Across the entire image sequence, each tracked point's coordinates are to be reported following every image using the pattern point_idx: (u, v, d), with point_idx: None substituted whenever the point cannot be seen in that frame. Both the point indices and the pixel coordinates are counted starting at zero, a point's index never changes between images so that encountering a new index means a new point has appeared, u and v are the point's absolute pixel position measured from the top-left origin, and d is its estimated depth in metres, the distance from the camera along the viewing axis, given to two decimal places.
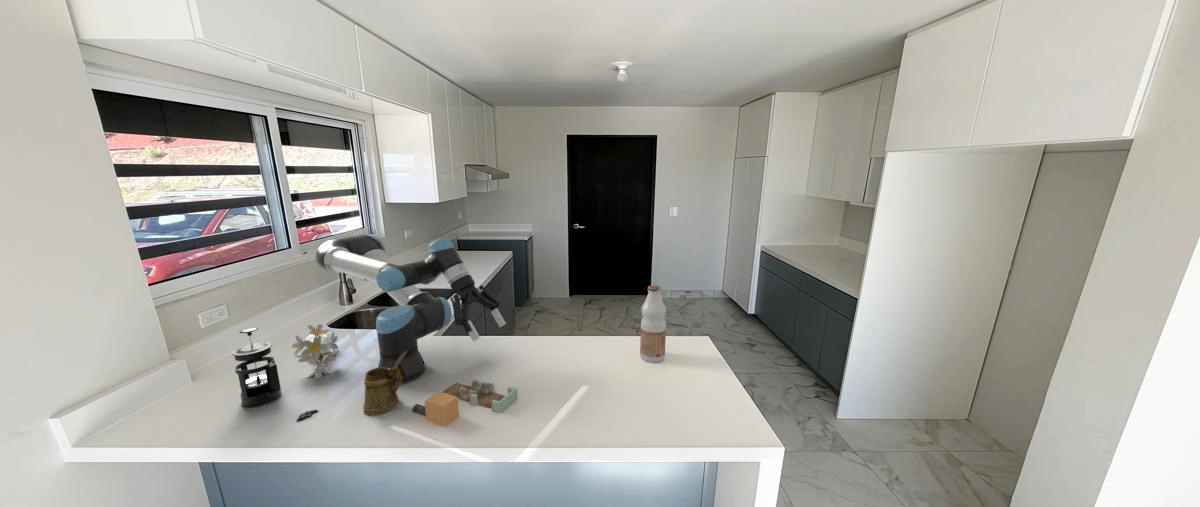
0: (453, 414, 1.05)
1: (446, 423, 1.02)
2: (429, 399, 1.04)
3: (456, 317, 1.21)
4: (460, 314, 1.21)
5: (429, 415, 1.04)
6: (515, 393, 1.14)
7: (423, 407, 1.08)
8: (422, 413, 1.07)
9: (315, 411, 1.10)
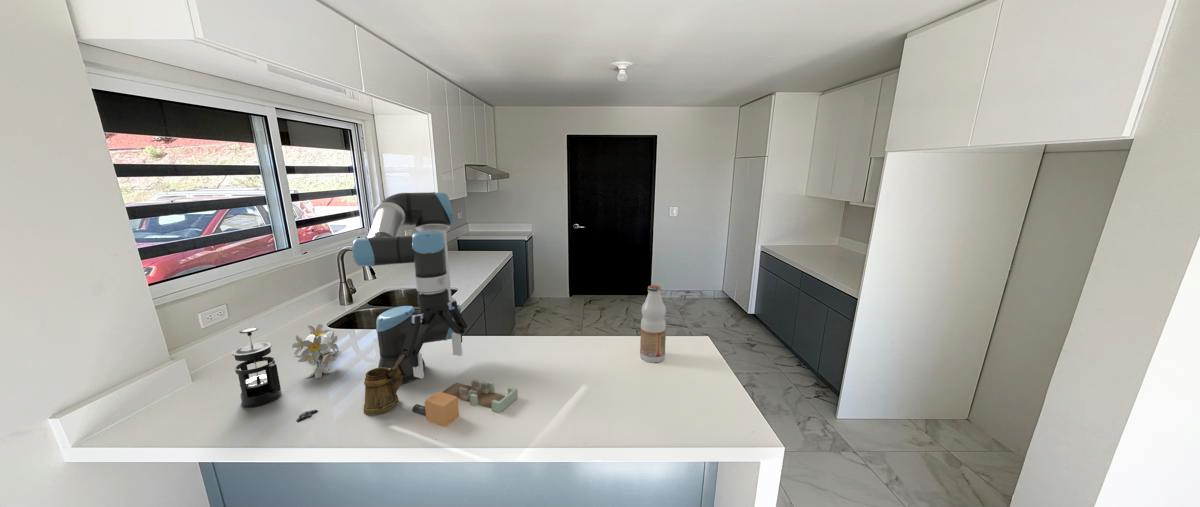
0: (453, 414, 1.05)
1: (446, 423, 1.02)
2: (429, 399, 1.04)
3: (406, 346, 0.93)
4: (412, 345, 0.93)
5: (429, 415, 1.04)
6: (515, 393, 1.14)
7: (423, 407, 1.08)
8: (422, 413, 1.07)
9: (315, 411, 1.10)
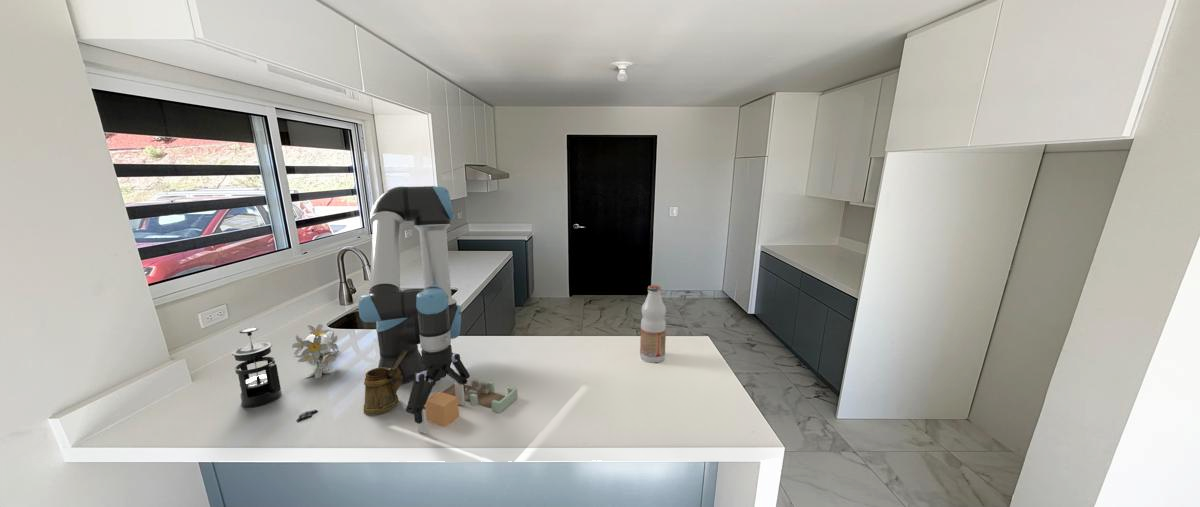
0: (453, 414, 1.05)
1: (446, 423, 1.02)
2: (429, 399, 1.04)
3: (410, 405, 0.95)
4: (417, 403, 0.96)
5: (429, 415, 1.04)
6: (515, 393, 1.14)
7: None
8: None
9: (315, 411, 1.10)
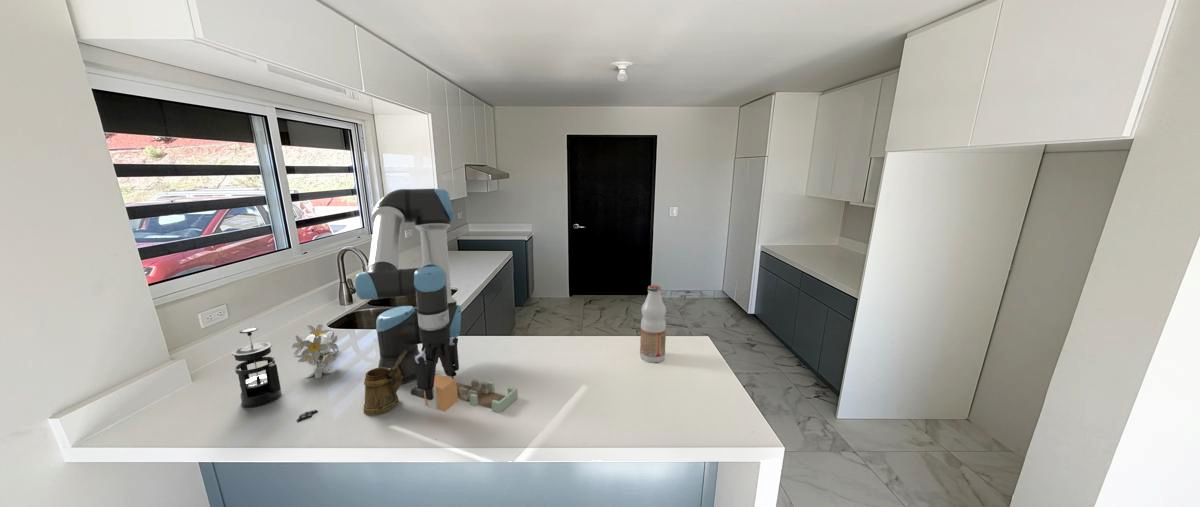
0: (452, 396, 1.04)
1: (445, 405, 1.02)
2: None
3: (420, 383, 0.98)
4: (425, 382, 0.98)
5: None
6: (515, 393, 1.14)
7: None
8: (421, 395, 1.07)
9: (315, 411, 1.10)
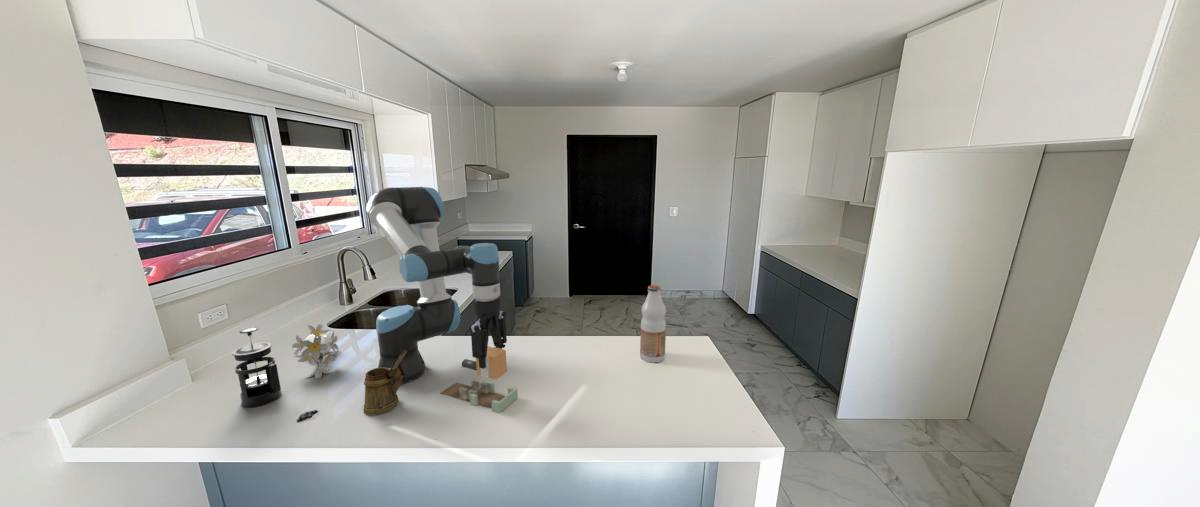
0: (502, 366, 1.11)
1: (496, 373, 1.09)
2: None
3: (475, 352, 1.05)
4: (480, 350, 1.05)
5: None
6: (515, 393, 1.14)
7: (472, 361, 1.15)
8: (472, 366, 1.13)
9: (315, 411, 1.10)
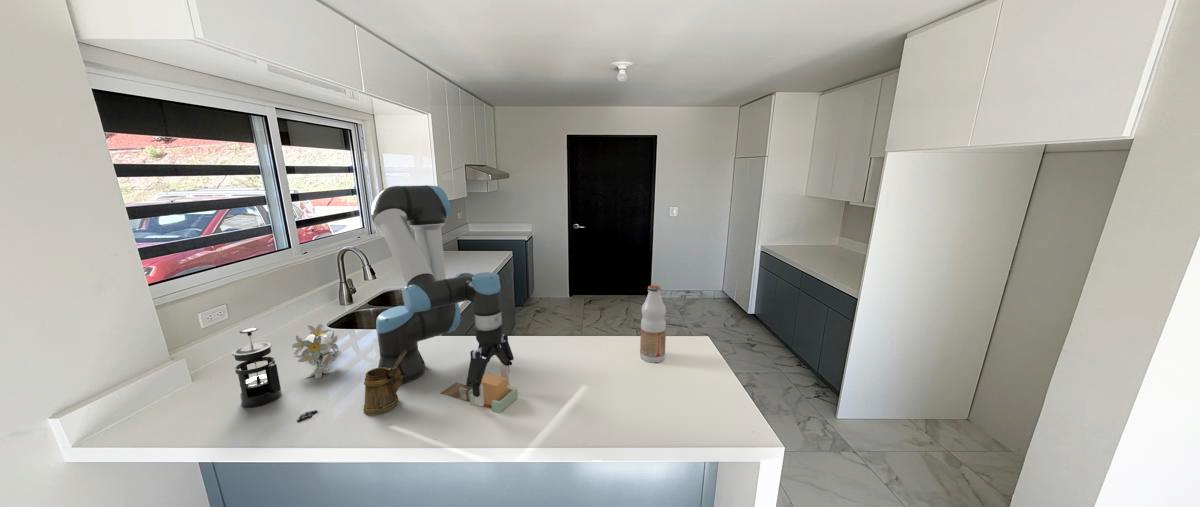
0: (503, 393, 1.13)
1: None
2: None
3: (470, 379, 1.04)
4: (475, 378, 1.04)
5: None
6: (515, 393, 1.14)
7: None
8: None
9: (315, 412, 1.10)
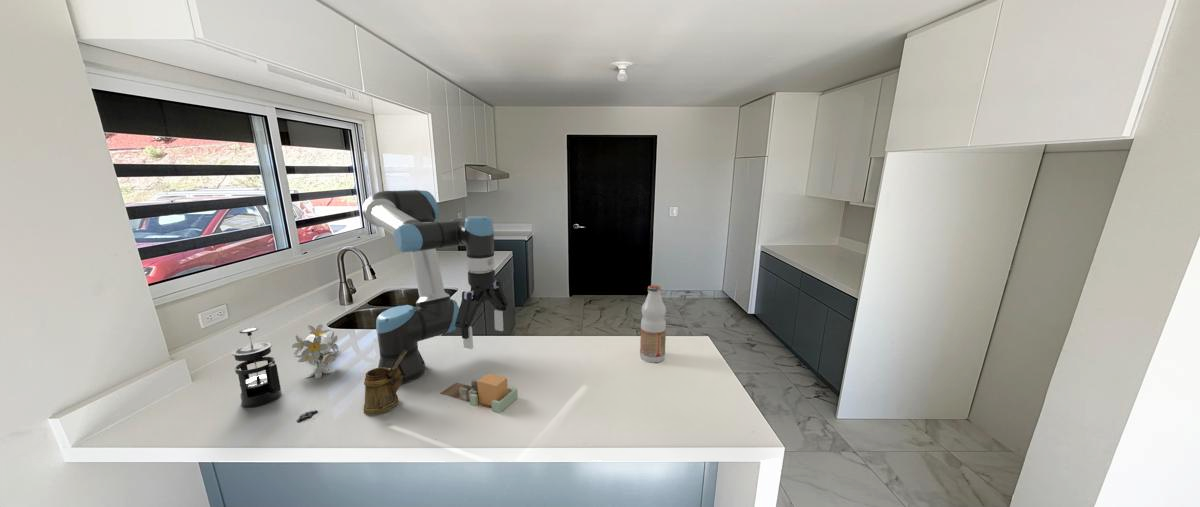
0: (503, 393, 1.13)
1: None
2: (481, 380, 1.12)
3: (459, 320, 1.03)
4: (465, 319, 1.03)
5: (481, 394, 1.12)
6: (515, 393, 1.14)
7: (474, 388, 1.17)
8: None
9: (315, 412, 1.10)
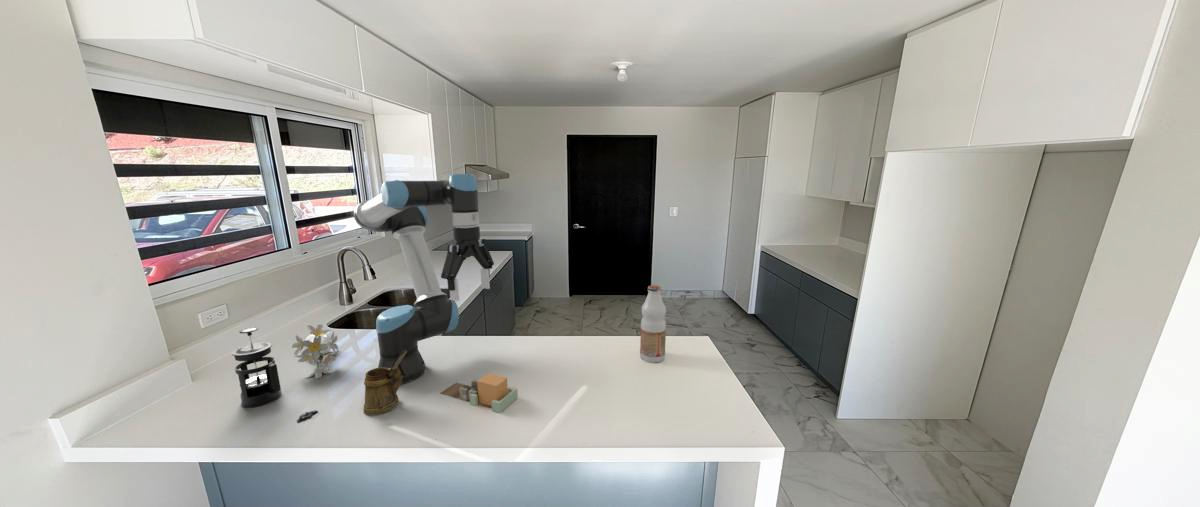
0: (503, 393, 1.13)
1: None
2: (481, 380, 1.12)
3: (445, 271, 1.07)
4: (450, 270, 1.07)
5: (481, 394, 1.12)
6: (515, 393, 1.14)
7: (474, 388, 1.17)
8: None
9: (315, 412, 1.10)
